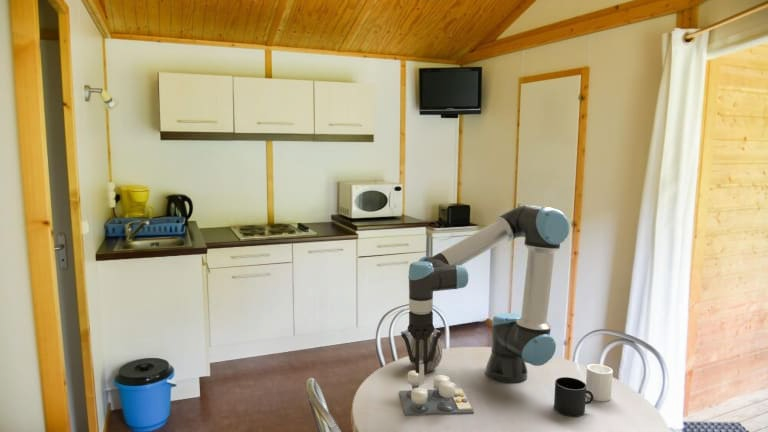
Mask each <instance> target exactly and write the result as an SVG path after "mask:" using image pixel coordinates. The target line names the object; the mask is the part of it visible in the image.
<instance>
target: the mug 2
mask: <svg viewBox="0 0 768 432" xmlns="http://www.w3.org/2000/svg"><path fill="white" fill-rule="evenodd" d="M613 373H614V370H613V369H612V368H611V367H609V366H607V365H604V364H601V363H600V364H598V363H592V364H591V363H588V364H587V365H586V379H585V384H586V390H588V391H590V392H592V394H593V400H594V401H596V402H609V401H610V400H611V399H612V389H613V375H614V374H613ZM586 397H587V398H589V399H590V398H591V396H590V394H588V393H586Z"/></svg>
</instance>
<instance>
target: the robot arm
mask: <svg viewBox="0 0 768 432" xmlns="http://www.w3.org/2000/svg"><path fill="white" fill-rule="evenodd" d="M569 233H570V223H569V220H568V218H567V216H566V215H565V214H564V212H563V211H561V210H559V209H556V208H553V207H550V206H548V207H547V206H540V205H539V206H537V205H533V204H527V205H524V204H523V205H521V206H518V207H515V208H514V209H511V210H509V211H507V212H505V213H503V214H502V215H499V216H497V217H496V219H495V220H494V222H492V223H491V224H489V225H488V226H486V227H483V228H481V229H480V230H479V231H477V232H474V233H473V234H471V235H469V236H467V237H466V238H464V239H462V240H460V241H459V242H457V243H455V244H453V245H451V246H449V247H447V248H446V249H444V250H442V251H440V252H438V253H436V254H435V255H433V256H427V255H426V256H423V257H421V258H419V259H418V261H413V262H412V263H410V264H409V267H408V292H409V293H408V309H409V312H408V322H409V323H408V326H407V329H406V330H403V331H401V332H400V336H401V338H402V340H404V343H405V348H406V351H407V354H408V355H409V356H408V359H410V360H409V362H410V363H411V362H414V363H415V367H414V370H415V371H416V373H418V381H419V384H421V385H423V384H425V373H428V372H427V364H428V362H429V361H433V358H434V354H435V350H436V346H437V342H438V339H439V340H440V337H441V336H442V332H441V330H439V329H436V328H435V325H434V324H433V323H434V313H433V310H434V292H440V291H451V290H458V289H463V288H466V287H467V286H468V283H469V272H468V269H467V267H466V266H465V265H464V264H466V263H468V262H470V261H471V260H473V259H475V258H477V257H479V256H480V255H482V254H484V253H486V252H488V251H489V250H491V249H493V248H494V247H496V246H498V245H500V244H502V243H503V242H505V241H507V242H511V241H513V240H515V239H518V238H524V247H526V249H527V250H528V252H527V260H526V268H525V269H526V270H525V278H524V288H523V289H524V290H523V298H522V306H521V307H522V308H521V313H520V314H519V313H513V312H512V313H510V312H509V313H508V312H506V313H497V314H496V315H494V316H493V317H492V323H491V326H492V327H491V328H492V329H491V354H490V356H489V359H488V361H487V362H486V363H487V364H486V366H485V370H486V371H485V372H486V373H485V374H486V375H487V376H488V377H489V378H490V379H492V380H495V381H498V382H502V383H508V384H509V383H511V384H514V383H521V382H523V381H525V380H527V378H528V368H527V365H526V363H527V364H529V365H531V366H535V367H539V366H543V365H545V364H547V363H548V362H549V361H551V359H553V357H554V355H555V352H556V349H557V343H556V341H555V340H554V337H553V336H552V335H551V328H552V326H551V325H550V323H549V322H548V313H549V305H550V304H549V303H550V297H551V295H550V294H551V286H552V280H553V279H552V276H553V267H554V262H555V261H554V259H555V253H556V252H557V251H559V250H560V248H561V244H562V243H564V242H565V240H566V239H567V238H568V237H569ZM432 333H433V339H432V343H431V347H430V351H429V355H428V352H427V343H428V338H429V337H430V335H431V334H432ZM410 335H411V338H412V337H413V338H414V340H415V357H413V355H412V351H411V347H410V341H409V337H410ZM420 340H422V341H423V361H419V343H420Z"/></svg>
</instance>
